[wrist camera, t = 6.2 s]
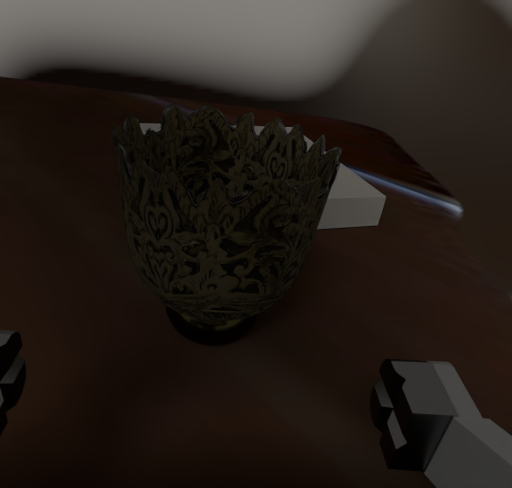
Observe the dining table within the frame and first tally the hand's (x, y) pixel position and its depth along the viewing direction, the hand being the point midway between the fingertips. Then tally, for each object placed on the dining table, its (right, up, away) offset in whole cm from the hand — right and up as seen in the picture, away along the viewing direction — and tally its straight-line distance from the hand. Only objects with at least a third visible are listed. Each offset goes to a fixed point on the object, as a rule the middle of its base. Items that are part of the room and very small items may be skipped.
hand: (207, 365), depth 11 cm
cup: (-1, -1, +9) cm, 9 cm away
